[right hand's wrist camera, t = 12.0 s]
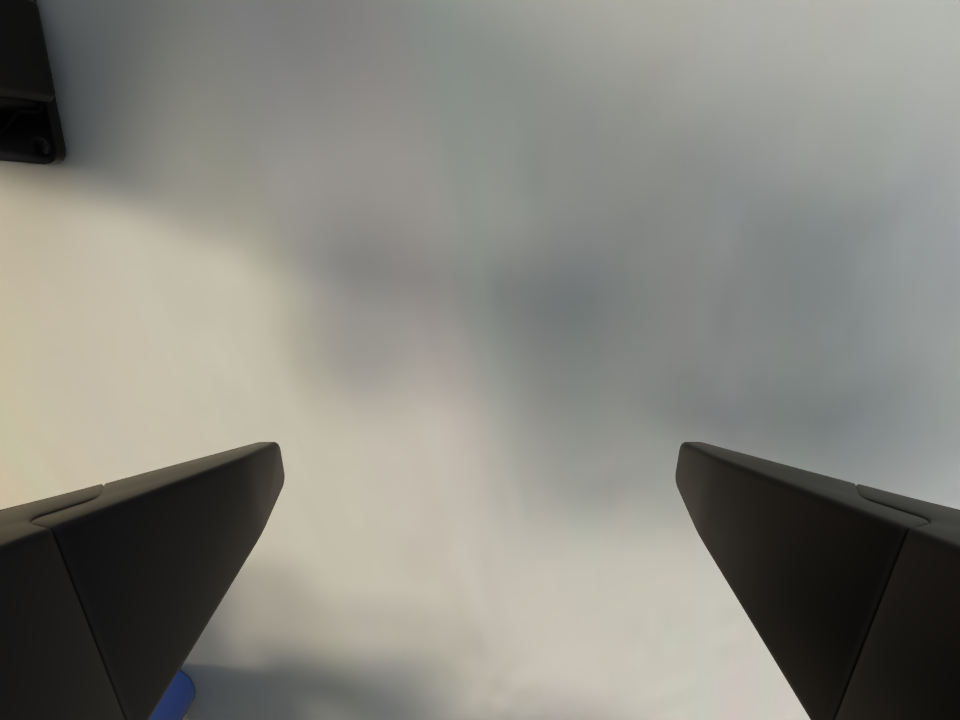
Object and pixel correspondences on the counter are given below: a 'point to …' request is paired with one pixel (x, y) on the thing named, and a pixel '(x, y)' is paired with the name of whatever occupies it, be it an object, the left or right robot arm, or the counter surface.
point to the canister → (175, 699)
